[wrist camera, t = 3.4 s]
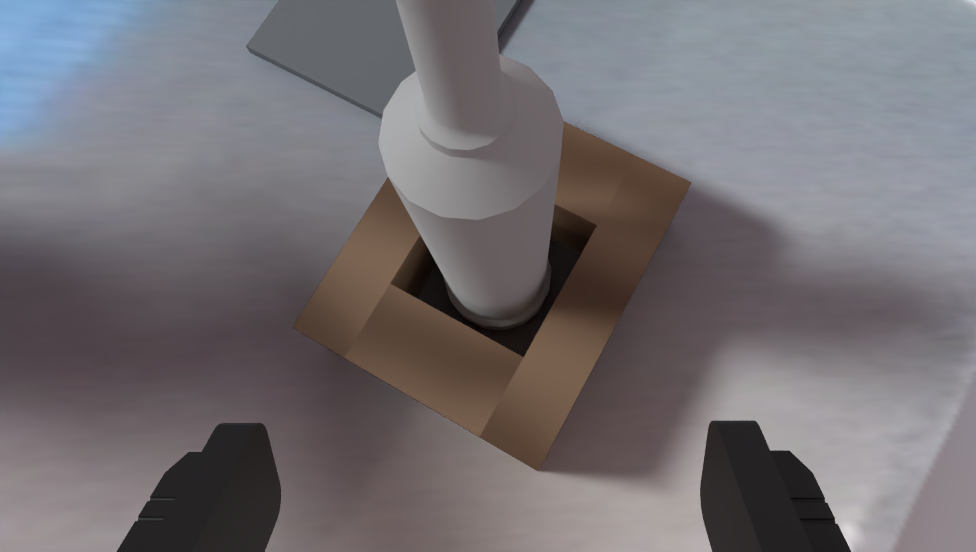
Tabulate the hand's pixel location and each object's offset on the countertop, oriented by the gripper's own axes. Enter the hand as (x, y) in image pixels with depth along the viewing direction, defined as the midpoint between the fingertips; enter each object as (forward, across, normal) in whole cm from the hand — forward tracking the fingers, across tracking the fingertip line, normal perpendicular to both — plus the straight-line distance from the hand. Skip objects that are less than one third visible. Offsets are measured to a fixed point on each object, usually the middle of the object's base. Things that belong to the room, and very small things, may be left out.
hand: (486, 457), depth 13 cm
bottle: (+21, -1, -8) cm, 23 cm away
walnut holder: (+21, -1, -8) cm, 23 cm away
